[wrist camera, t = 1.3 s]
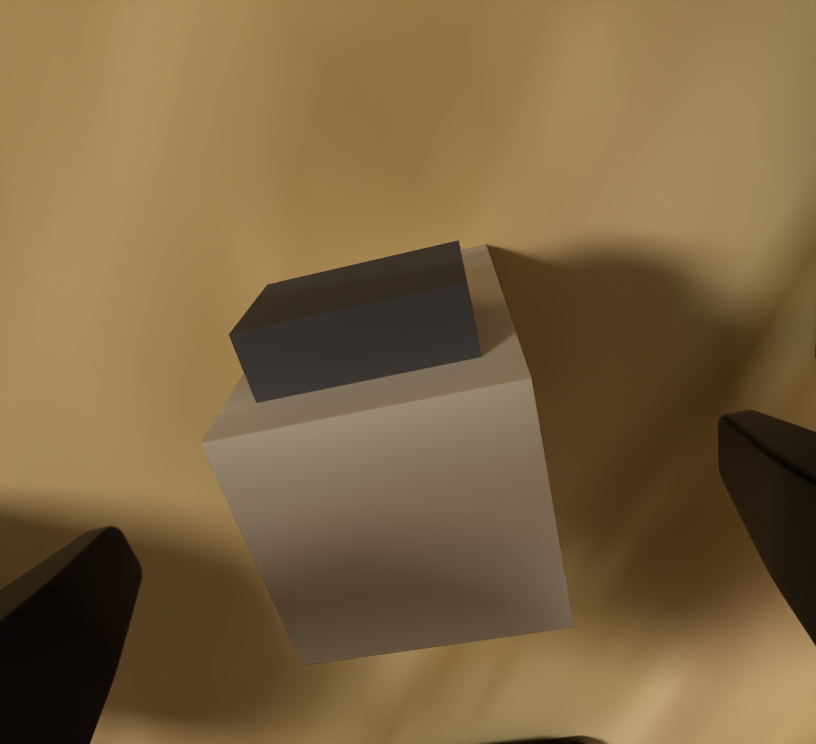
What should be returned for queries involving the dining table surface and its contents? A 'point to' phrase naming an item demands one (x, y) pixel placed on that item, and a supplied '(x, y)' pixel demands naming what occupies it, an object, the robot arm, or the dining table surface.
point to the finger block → (391, 459)
